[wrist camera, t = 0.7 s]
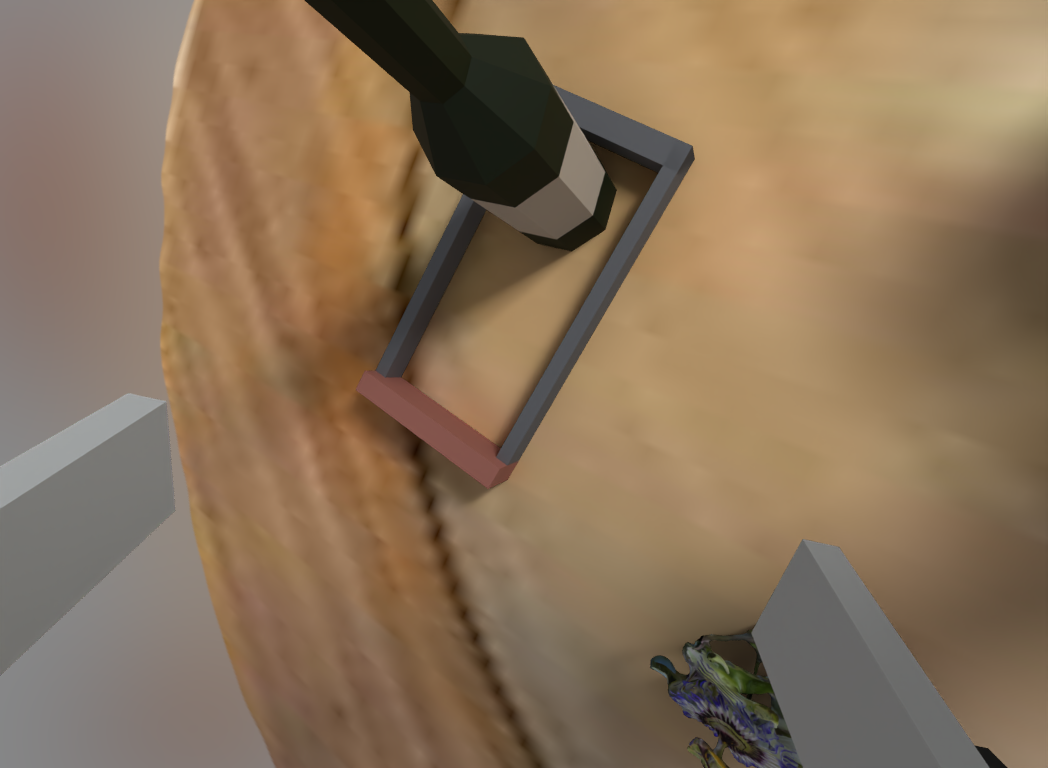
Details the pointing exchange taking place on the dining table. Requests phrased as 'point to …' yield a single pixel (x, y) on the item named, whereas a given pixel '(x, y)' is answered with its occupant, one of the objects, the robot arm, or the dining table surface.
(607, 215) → the wine bottle
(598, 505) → the dining table surface
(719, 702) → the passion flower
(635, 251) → the frame
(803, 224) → the dining table surface
